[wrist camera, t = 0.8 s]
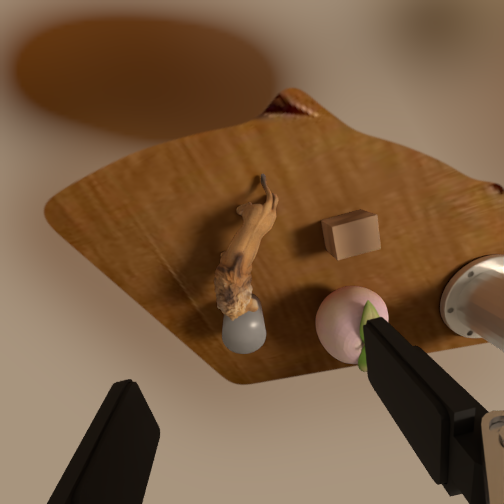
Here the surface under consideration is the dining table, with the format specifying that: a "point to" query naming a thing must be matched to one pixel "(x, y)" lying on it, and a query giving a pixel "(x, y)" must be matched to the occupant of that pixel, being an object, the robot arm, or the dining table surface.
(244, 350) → the light grey cylinder
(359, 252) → the pale beige block
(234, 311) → the lion figurine
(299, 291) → the dining table surface
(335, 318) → the decorative fruit
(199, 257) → the dining table surface
